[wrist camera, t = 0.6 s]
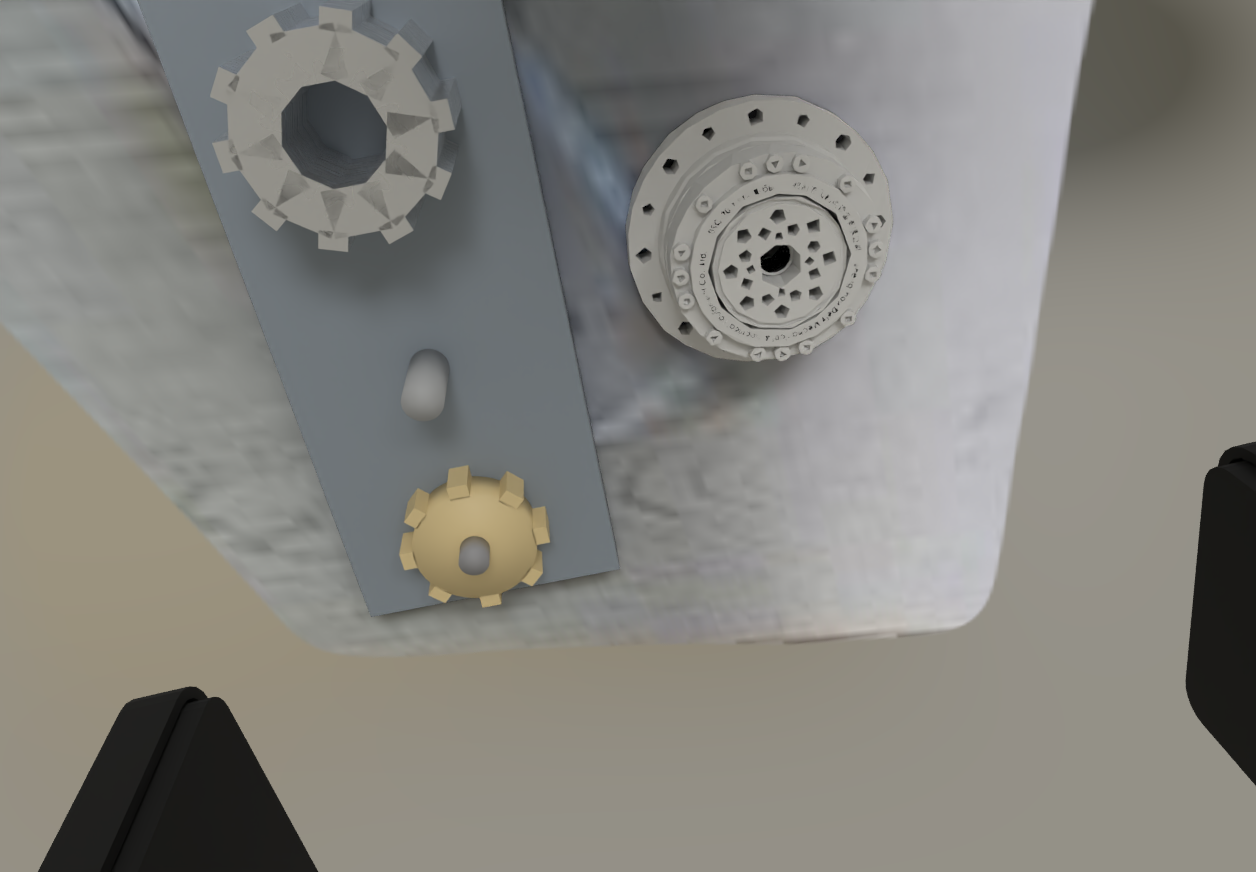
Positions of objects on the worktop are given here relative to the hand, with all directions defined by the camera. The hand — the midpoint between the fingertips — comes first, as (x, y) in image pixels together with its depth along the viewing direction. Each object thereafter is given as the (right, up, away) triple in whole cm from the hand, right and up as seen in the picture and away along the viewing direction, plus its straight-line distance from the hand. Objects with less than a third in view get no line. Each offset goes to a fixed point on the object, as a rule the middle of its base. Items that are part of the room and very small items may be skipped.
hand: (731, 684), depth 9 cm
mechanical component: (+4, +11, +28) cm, 30 cm away
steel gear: (-10, +13, +23) cm, 28 cm away
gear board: (-9, +7, +28) cm, 30 cm away
